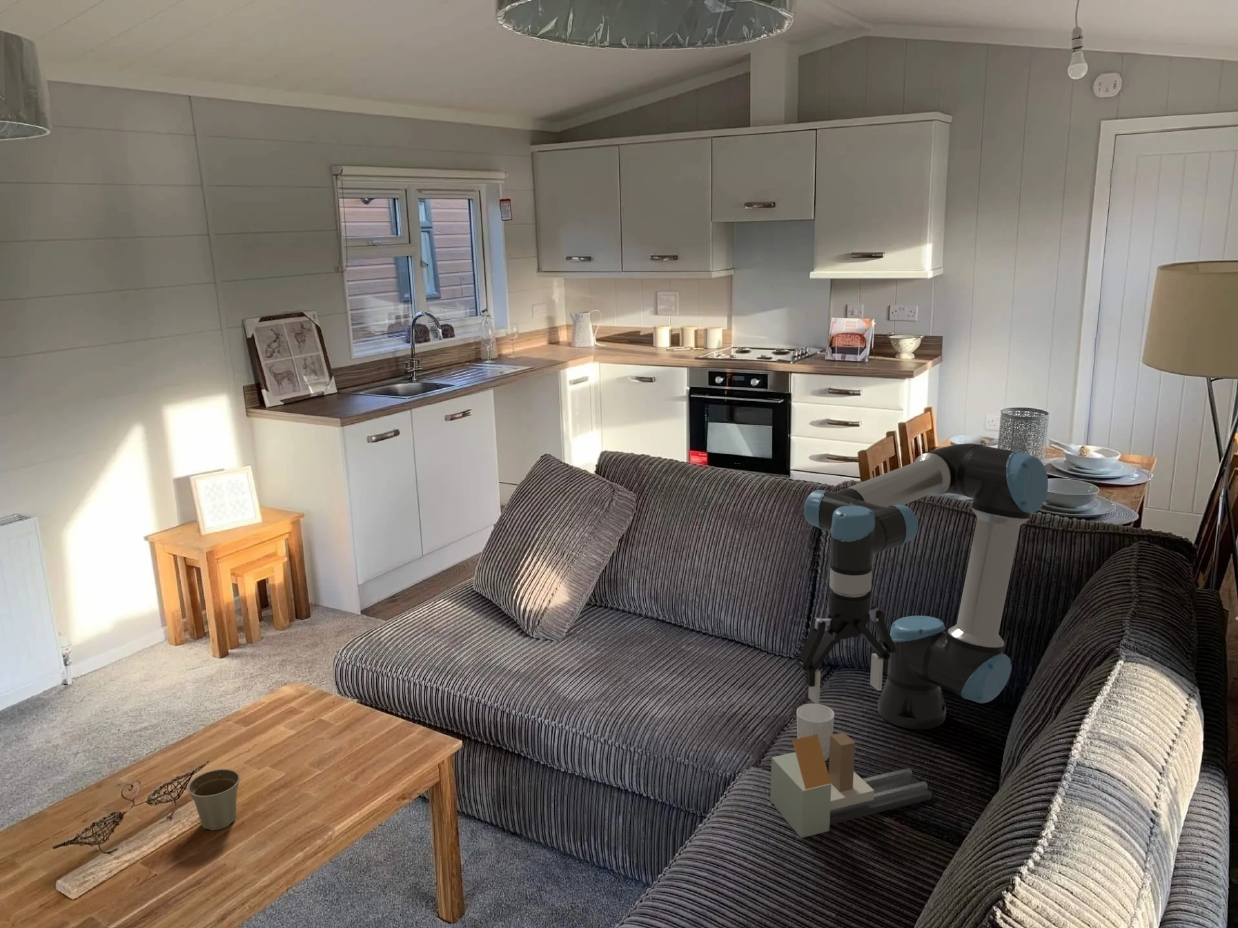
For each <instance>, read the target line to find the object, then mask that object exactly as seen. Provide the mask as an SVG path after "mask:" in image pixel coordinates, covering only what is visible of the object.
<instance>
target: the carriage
mask: <svg viewBox="0 0 1238 928" xmlns="http://www.w3.org/2000/svg"><path fill="white" fill-rule="evenodd" d="M855 749H856V742H855V741H854V740H853V739H852V738H851V737H850V736H848V735H847V733H845V732H840V733H839V732H838V733H835V734H834V733H833V735H830V753H829V758H828V774H829V778H830V782H831V802H830V810H834V809H838V808H842V807H846V806H850V805H854V804H858V803H862V802H866V801H870V800H874V790H873V789H872V788H871V787H870V786H869V785H868V784H867V783H866V782H865V781H864V780H863V778H862V777H860V775H858V774H857V772H855V754H856V750H855Z"/></svg>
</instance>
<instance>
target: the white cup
mask: <svg viewBox="0 0 1238 928" xmlns="http://www.w3.org/2000/svg"><path fill="white" fill-rule="evenodd" d="M834 724H835V712H834V710H833V709H832V708H830V707H829V706H827V705H824V704H821V703H818V704H815V703H805V704H801V705H800V706H799V707H797V709H796V739H798V738H803V737H807V736H812V735H816V734H818V738H819V742H820V745H821V749H822V753H823V756H824V760H825V762H826V761H828V760H829V753H830V735H834Z"/></svg>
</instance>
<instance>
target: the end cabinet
mask: <svg viewBox="0 0 1238 928" xmlns="http://www.w3.org/2000/svg"><path fill="white" fill-rule="evenodd" d="M770 761H771V765H770V766H771V767H770V771H771V772H770V801H771V802H772V803H773V804H774V805H775V807H776V808H777V809H778V810H777V809H776V808H775V807H774V808H775V809H776V810H777V812H778V811H779V812H780V813H781V814H782V815H781V814H780V813H779V812H778V813H779V814H780V815H781V816H782V817H783V818H784V820H785V821H786V822H787V823H788V825H789V826H790V827H791V828H792V829H793V830H794V832H795V833H796V834H797V835H798V836H799V837H800V839H803V838H806V837H810V836H811V837H812V836H814V835H817V834H823V833H826V832H829V831H830V825H829V824H830V802H831V784H827V785H823V786H818V787H814V788H810V789H805V786H804V782H803V779H802V775H801V771H800V767H799V764H798V760H797V756H796V752H795V751H794V752H790V753H785V754H781V755H776V756H772V757H771V760H770ZM771 802H770V803H771Z"/></svg>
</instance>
